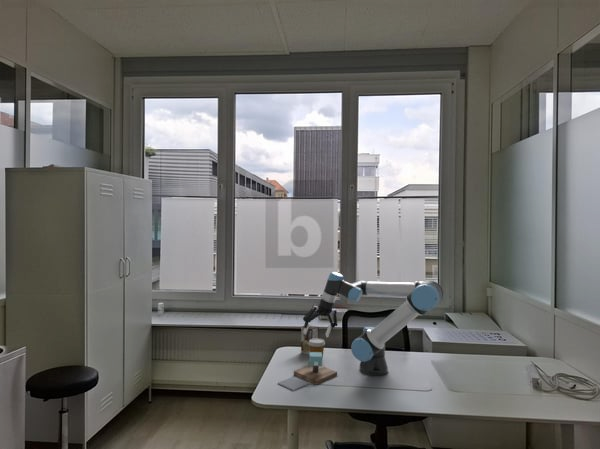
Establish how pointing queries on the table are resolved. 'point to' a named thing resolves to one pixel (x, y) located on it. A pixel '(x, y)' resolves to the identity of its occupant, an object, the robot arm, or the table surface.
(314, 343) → the disposable coffee cup
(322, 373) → the brown square board
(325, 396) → the table surface
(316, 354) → the teal matte cube
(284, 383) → the mat
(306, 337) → the coffee box
